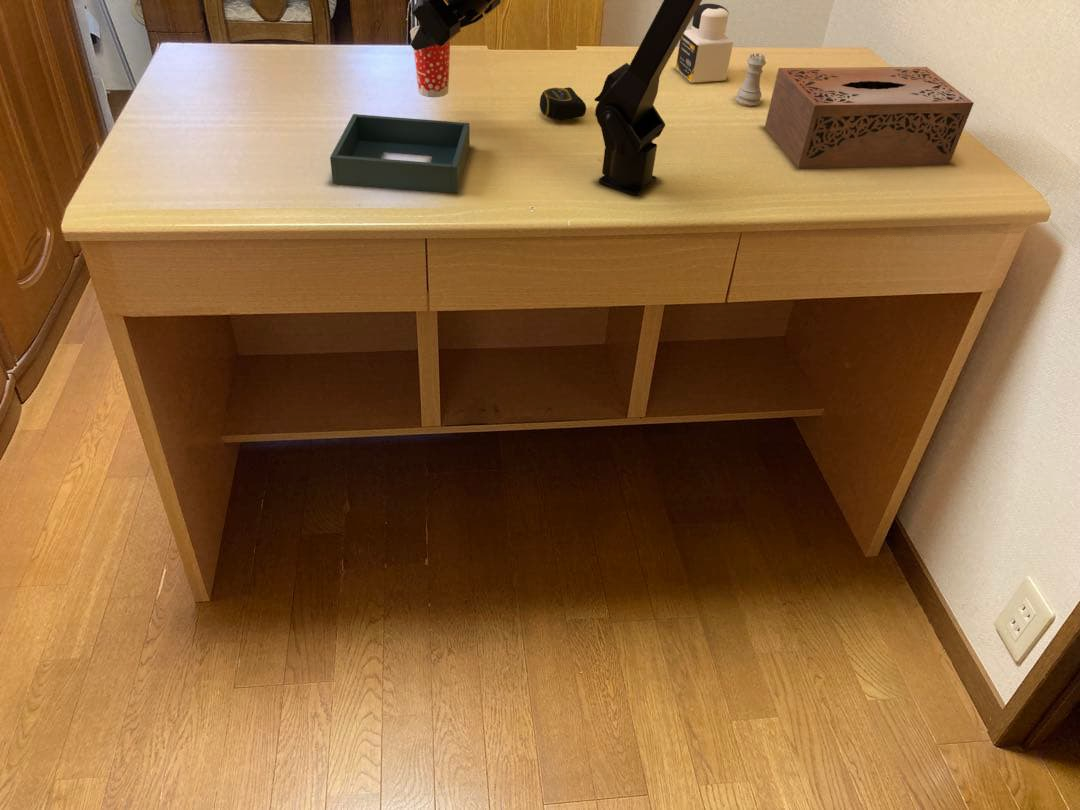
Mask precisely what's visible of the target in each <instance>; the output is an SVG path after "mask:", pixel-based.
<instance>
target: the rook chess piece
mask: <svg viewBox="0 0 1080 810" xmlns="http://www.w3.org/2000/svg"><path fill="white" fill-rule="evenodd" d="M746 62H747V65H748V66H747V68H746V74H745V77H744V80H743V82H742V85H740V88H738V89H737V92H736V96H735V101H736V102H737V104H738V105H740V106H743V107H757V106H758V105H759V104H760V103H761V102H762V101H761V98H762V92H761V87H760V85H761V76H762V73H763V67H764V66H765V65H766V64H767V61H766V56H765V55H764V54H760V53H756V54H755V53H751V54H750V55H749V57H748V58H747V59H746Z"/></svg>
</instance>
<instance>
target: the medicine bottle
mask: <svg viewBox="0 0 1080 810" xmlns="http://www.w3.org/2000/svg"><path fill="white" fill-rule="evenodd" d="M729 14H730V12H729V10H728V9H727V8H725V7H724V6H722V5H720V4H717V3H701V4H700V5H699V7H698V8H697V10H696V12H695V14H694V16H693V17H692V21H691V22H692V23H691V29H686V30H685V32H684V33H683V35H682V37H681V39H680V41H679V45H678V52H677V58H676V65H675V69H676V70H677V71H678V72H679V73H680V74H681V75H682V76H683V77H685V78H686V79H687V80H688V81H689V82H690V83H691V84H694V83H708V82H709V83H710V82H721V81H722V82H723V81H726V80H727V77H728V76H727V75H728V70H729V66H730V60H731V57H732V56H731V55H732V50H733V46H734V41H733V40H732V39H730V37H728V36H727V35H726V30H727V25H728V19H729Z"/></svg>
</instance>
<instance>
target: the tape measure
mask: <svg viewBox="0 0 1080 810" xmlns="http://www.w3.org/2000/svg"><path fill="white" fill-rule="evenodd" d="M539 109H540V112H541V113H542V114H543V115H544V116H545V117H547V118H549V119H552V120H553V121H555V120H557V121H568V120H569V121H570V120H573V119H578V118H579V119H580V118H582V117H584V116H585V115H586V112H587V105H586V103H585V101H584V100H583V99H582V98H581V97H580V96H578V94H577V93H576V92H575V90H574V89H573V88H571V87H569V86H567V87H564V88H563V87H550V88H547V89H544V91H542V93H541V95H540V98H539Z"/></svg>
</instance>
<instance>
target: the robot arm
mask: <svg viewBox="0 0 1080 810" xmlns="http://www.w3.org/2000/svg"><path fill="white" fill-rule="evenodd" d="M501 1H502V0H417V2H416V3H415V4H414V5H412V6H411V14H412V15H413V16H414V17H415V18H416V20H417V21H418V22H419V23H420V24H419V26H420V27H419V29H418V31H417V33H416V35H415V37H414V39H413V40H412V41H411V43H410V46H411V47H412V48H413V51H414V50H420V49H423V48H427V47H430V46H434V45H439V46H441V47H442V46H443V45H445V44H446V43H447V42H449V41H450V42H451V41H452V40H453V39H454V38H455V37H456V36H457V35H458V34H459V33H460V32H461V29H462V28H465V27H467V26H470V25H472V24H475V23H477V22H479V21H480V20H481V19H482V18H484V15H485V16H487V15H489V14H490V13H492V12H493V11H494V10H495V9H496V8H497V7H498V6H500V4H501V3H502V2H501ZM702 2H703V0H663V1H662V3H661V5H660V6H659V8H658V10H657V13H656V14H655V16H654V18H653V20H652V22H651V24H650V26H649V27H648V30H647V32H646V33H645V35H644V37H643V39H642V41H641V43H640V45H639V46H638V49H637V50H636V52H635V54H634V56H633V58H632V59H631V62H630V64H629V63H628V62H625V63H624V64H622V65H621V66H619V67H618V68H616V69H615V70H614V71H612V72H611V73H609V74H607V75H606V78H605V80H604V83H603V86H602V89H601V91H600V93H599V94H598V95H597V96H596V97H595V98H594V101H595V102H597V104H596V106H595V110H594V116H595V117H596V121H597V123H598V125H599V127H600V129H601V133H602V139H603V144H604V151H603V154H604V155H603V159H602V160H603V161H602V170H601V173H602V176H601V177H600V178H599V179H598V184H600V185H602V186H606V187H608V188H611V189H614V190H617V191H620V192H623V193H625V194H629V195H632V196H636V197H637V196H639V195H640V194H642V193H643V192H644V191H645V190H647V189H648V188H649V187H650V186H652V185H653V184H654V183H656V181H657V179H658V178H657V176H656V175H653V174H654V169H655V161H656V154H657V147H658V144H657V143H656V142H655V143H654V140H655V139H657V138H659V137H660V136H661V134H662V132H663V131H664V129H665V127H666V123H665V121H664V120H663V118H662V116H661V115H660V113H659V112H658V111H657V109H656V107H655V105H654V104H655V101H656V98H657V95H658V91H659V83H660V77H661V75H662V72H663V71H664V69H665V68H666V66H667V63H668V62H669V60H670V58H671V57H672V55H673V53H674V51H675V49H676V47H677V46H678V44H679V43H680V39H681V37H682V35H683V33H684V32H685V30H687V28H688V26H689V24H690V23H691V22H692V20H693V16H694V14H695V12H696V10H697V8H698V7H699V5H701V4H702Z"/></svg>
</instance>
